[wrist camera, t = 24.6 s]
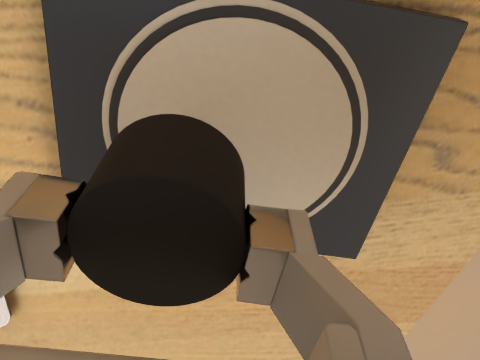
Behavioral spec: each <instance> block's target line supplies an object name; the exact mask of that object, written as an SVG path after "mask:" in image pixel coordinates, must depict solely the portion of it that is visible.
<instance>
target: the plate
mask: <svg viewBox="0 0 480 360" xmlns="http://www.w3.org/2000/svg"><path fill="white" fill-rule="evenodd" d="M11 315H12V314H11V311H10V307H9V304H8V301H7V298H6V295H5V296H3V297H2V298H0V328H1V327H3V326H4V325H6V324H8V322H9V320H10V318H11Z"/></svg>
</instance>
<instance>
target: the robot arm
mask: <svg viewBox="0 0 480 360" xmlns="http://www.w3.org/2000/svg"><path fill="white" fill-rule="evenodd" d="M86 185H87V183H86V182H85V181H81V180H74V179H68V178H62V177H56V176H49V175H41V174H36V173H29V172H22V171H21V172H17V173H15V174H14V175H13V176H12V177H11V178H10V179H9V180H8V182H7V183H6V184H5V185H4V186H3V187H2V188H1V189H0V298H2V297H3V296H5V295H6V294H7V293H9V292H10V291H12V290H13V289H14V288H16V287H17V286H18V285H20V284H21V283H23V282H24V281H25V278H26V279H37V280H49V281H61V282H64V281H65V279H66V277H67V275H68V273H69V271H70V270H71V268H72V266H73V264H74V262H75V261H74V259H73V257H72V256H71V251H70V246H69V245H68V243H67V238H66V234H67V233H68V217H69V215H70V212H71V210H72V208H73V207H74V205H75V203H76V202H77V200H78V198H79V197H80V195H81V193H82V192H83V190H84V188H85V187H86ZM244 254H245V261H244V263H243V265H242V266H241V269H240V272H239V274H238V275H237V279H236V281H237V301H240V302H247V303H254V304H261V305H269V306H271V307H270V308H271V309H272V311H273V312H274V314H275V315H276V317H277V319H278V320H279V322H280V323H281V325H282V326H283V328H284V329H285V331H286V333H287V334H288V336H289V337H290V339H291V340H292V342H293V343H294V345H295V347H296V348H297V350H298V351H299V353H300V354H301V356H302V357H303V359H304V360H412V358H411V355H410V353H409V350H408V348H407V345H406V343H405V340H404V338H403V335H402V333H401V330H400V328H399V327H397V326H396V325H395V324H394V323H393V322H392V321H391V320H390V319H389V318H388V317H387V316H386V315H385V314H384V313H383V312H382V311H381V310H380V309H379V308H378V307H377V306H375V305H374V304H373V303H372V302H371V301H370V300H369V299H368V298H367V297H366V296H365V295H364V294H363V293H362V292H361V291H360V290H359V289H358V288H357V287H356V286H354V285H353V284H352V283H351V282H350V281H349V280H348V279H347V278H346V277H345V276H344V275H343V274H342V273H341V272H340V271H339V270H338V269H337V268H336V267H335V266H333V265H332V264H331V263H330V262H329V261H328V260H327V259H326V258H325V257H323V256H318V252H317V248H316V244H315V240H314V236H313V233H312V229H311V225H310V221H309V217H308V213H307V212H306V211H305V210H296V209H287V208H286V209H282V208H274V207H267V206H259V205H252V204H247V207H246V249H245V253H244ZM0 360H166V359H155V358H145V357H134V356H124V355H113V354H103V353H92V352H82V351H71V350H60V349H50V348H39V347H29V346H18V345H8V344H0Z"/></svg>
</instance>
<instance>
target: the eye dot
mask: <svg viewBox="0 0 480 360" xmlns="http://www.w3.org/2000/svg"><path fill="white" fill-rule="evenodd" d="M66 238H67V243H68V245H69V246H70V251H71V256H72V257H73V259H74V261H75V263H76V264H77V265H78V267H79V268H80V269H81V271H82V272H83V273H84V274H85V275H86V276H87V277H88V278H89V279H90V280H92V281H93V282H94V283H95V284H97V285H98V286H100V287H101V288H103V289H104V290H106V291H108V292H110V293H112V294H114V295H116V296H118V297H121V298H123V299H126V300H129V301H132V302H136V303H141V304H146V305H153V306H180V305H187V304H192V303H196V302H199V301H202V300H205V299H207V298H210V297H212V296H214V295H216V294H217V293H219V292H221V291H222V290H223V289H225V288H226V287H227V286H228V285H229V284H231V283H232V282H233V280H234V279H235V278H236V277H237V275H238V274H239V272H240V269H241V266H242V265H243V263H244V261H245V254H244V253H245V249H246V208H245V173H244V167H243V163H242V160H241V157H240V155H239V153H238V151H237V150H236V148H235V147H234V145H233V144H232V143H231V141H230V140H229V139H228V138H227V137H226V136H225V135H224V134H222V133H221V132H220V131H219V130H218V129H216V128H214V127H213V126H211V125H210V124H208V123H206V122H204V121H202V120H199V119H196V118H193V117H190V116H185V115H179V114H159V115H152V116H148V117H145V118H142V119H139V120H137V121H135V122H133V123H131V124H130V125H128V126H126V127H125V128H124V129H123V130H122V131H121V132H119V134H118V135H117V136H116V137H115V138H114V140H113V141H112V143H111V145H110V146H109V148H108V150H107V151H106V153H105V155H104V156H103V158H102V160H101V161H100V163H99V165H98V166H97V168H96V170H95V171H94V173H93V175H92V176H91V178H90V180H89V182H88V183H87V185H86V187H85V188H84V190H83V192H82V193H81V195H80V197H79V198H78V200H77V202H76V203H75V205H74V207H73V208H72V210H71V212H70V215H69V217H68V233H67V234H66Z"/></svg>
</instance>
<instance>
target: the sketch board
mask: <svg viewBox="0 0 480 360" xmlns="http://www.w3.org/2000/svg"><path fill="white" fill-rule="evenodd" d="M41 1H42V10H43V19H44V27H45V36H46V44H47V53H48V62H49V70H50V79H51V88H52V96H53V105H54V114H55V122H56V131H57V139H58V148H59V157H60V165H61V174H62V178H68V179H74V180H81V181H85V182H86V183H88V182H89V180H90V178H91V176H92V175H93V173H94V171H95V170H96V168H97V166H98V165H99V163H100V161H101V160H102V158H103V156H104V155H105V153H106V151H107V150H108V148H109V146H110V145H111V143H112V141H113V140H114V138H115V137H116V136H117V135H118V134H119V132H121V131H122V130H123V129H124V128H125V127H126V126H128V125H130V124H131V123H133V122H135V121H137V120H139V119H142V118H145V117H148V116H152V115H159V114H179V115H185V116H190V117H193V118H196V119H199V120H202V121H204V122H206V123H208V124H210V125H211V126H213V127H214V128H216V129H218V130H219V131H220V132H221V133H222V134H224V135H225V136H226V137H227V138H228V139H229V140H230V141H231V143H232V144H233V145H234V147H235V148H236V150H237V151H238V153H239V155H240V157H241V160H242V163H243V167H244V173H245V208H246V207H247V204H252V205H259V206H267V207H274V208H282V209H286V208H287V209H296V210H305V211H306V212H307V213H308V217H309V221H310V225H311V229H312V233H313V236H314V240H315V244H316V248H317V252H318V254H320V255H328V256H336V257H344V258H352V259H356V258H357V255H358V253H359V251H360V249H361V247H362V245H363V243H364V241H365V239H366V237H367V235H368V232H369V230H370V228H371V226H372V224H373V222H374V220H375V218H376V216H377V214H378V212H379V209H380V207H381V205H382V203H383V201H384V199H385V197H386V195H387V193H388V191H389V189H390V186H391V184H392V182H393V180H394V178H395V176H396V174H397V172H398V170H399V168H400V166H401V163H402V161H403V159H404V157H405V155H406V153H407V151H408V149H409V147H410V145H411V143H412V140H413V138H414V136H415V134H416V132H417V130H418V128H419V126H420V124H421V122H422V120H423V117H424V115H425V113H426V111H427V109H428V107H429V105H430V103H431V101H432V99H433V97H434V95H435V92H436V90H437V88H438V86H439V84H440V82H441V80H442V78H443V76H444V74H445V72H446V69H447V67H448V65H449V63H450V61H451V59H452V57H453V55H454V53H455V51H456V49H457V46H458V44H459V42H460V40H461V38H462V36H463V34H464V32H465V30H466V28H467V26H468V22H466V21H464V20H461V19H458V18H453V17H448V16H443V15H438V14H432V13H427V12H422V11H417V10H412V9H406V8H401V7H396V6H391V5H385V4H380V3H375V2H370V1H365V0H41Z"/></svg>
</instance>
